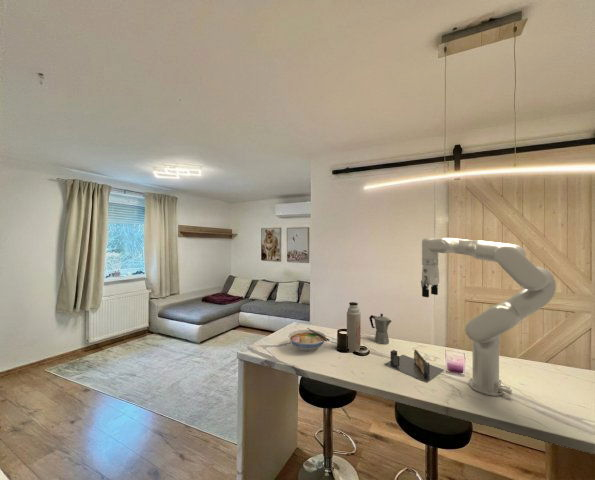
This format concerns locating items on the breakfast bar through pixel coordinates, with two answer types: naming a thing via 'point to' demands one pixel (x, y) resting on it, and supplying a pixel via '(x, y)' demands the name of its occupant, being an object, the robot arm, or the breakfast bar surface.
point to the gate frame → (413, 367)
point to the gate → (419, 360)
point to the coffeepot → (381, 328)
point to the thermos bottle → (354, 327)
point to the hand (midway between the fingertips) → (430, 295)
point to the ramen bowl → (307, 339)
